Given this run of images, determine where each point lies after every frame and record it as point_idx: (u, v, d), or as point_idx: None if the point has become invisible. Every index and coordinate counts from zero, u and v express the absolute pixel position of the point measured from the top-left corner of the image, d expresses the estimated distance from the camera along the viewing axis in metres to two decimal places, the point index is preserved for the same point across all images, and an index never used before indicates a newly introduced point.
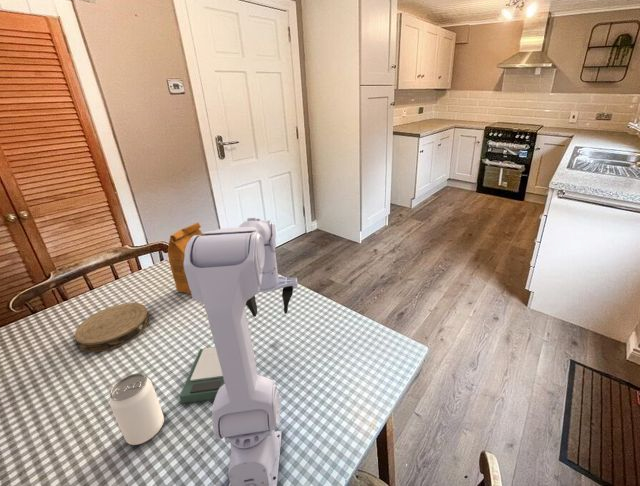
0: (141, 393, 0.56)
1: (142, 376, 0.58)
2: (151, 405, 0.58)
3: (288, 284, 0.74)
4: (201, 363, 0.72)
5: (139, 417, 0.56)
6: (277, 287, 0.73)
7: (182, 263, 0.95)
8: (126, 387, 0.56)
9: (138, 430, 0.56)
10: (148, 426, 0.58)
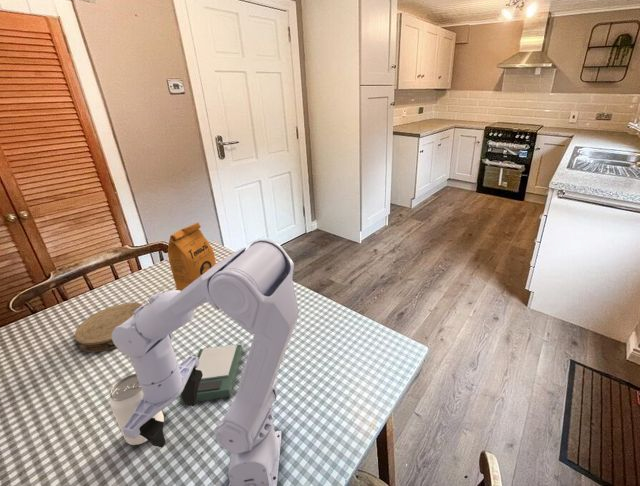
0: (141, 393, 0.56)
1: None
2: None
3: (192, 366, 0.59)
4: (201, 363, 0.72)
5: None
6: (186, 378, 0.56)
7: (182, 263, 0.95)
8: (126, 387, 0.56)
9: None
10: None
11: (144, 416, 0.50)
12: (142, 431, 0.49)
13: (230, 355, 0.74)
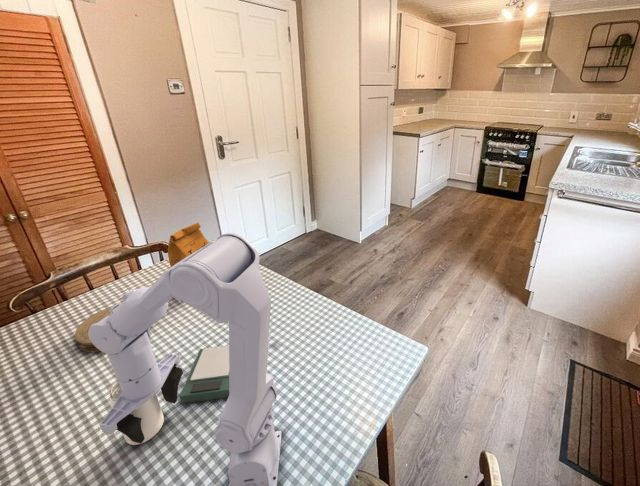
0: None
1: None
2: (151, 405, 0.58)
3: (172, 364, 0.60)
4: (201, 363, 0.72)
5: (139, 417, 0.56)
6: (166, 375, 0.57)
7: None
8: None
9: None
10: (148, 426, 0.58)
11: (122, 412, 0.51)
12: (119, 427, 0.50)
13: None
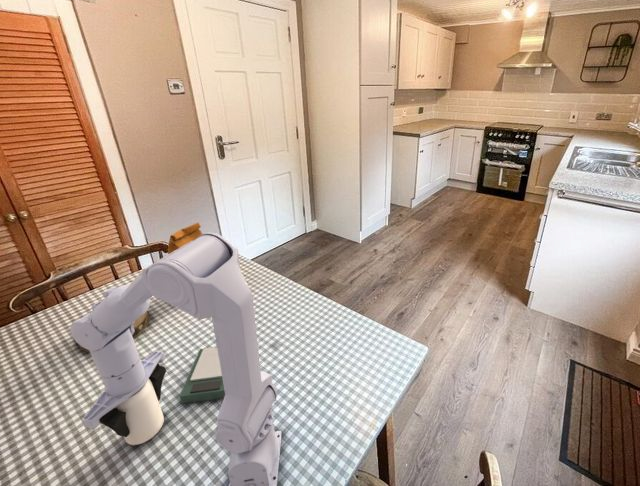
0: (141, 393, 0.56)
1: None
2: (151, 405, 0.58)
3: (157, 360, 0.60)
4: (201, 363, 0.72)
5: (139, 417, 0.56)
6: (150, 372, 0.58)
7: None
8: None
9: (138, 430, 0.56)
10: (148, 426, 0.58)
11: (104, 407, 0.51)
12: (104, 420, 0.51)
13: None
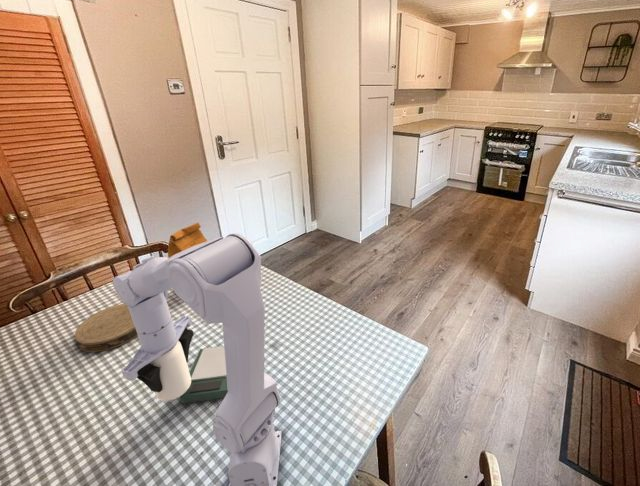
0: (172, 352, 0.60)
1: None
2: (181, 364, 0.62)
3: (185, 324, 0.64)
4: (201, 363, 0.72)
5: (171, 374, 0.60)
6: (180, 333, 0.62)
7: None
8: None
9: (169, 386, 0.60)
10: (179, 384, 0.62)
11: (141, 361, 0.55)
12: (141, 373, 0.55)
13: None
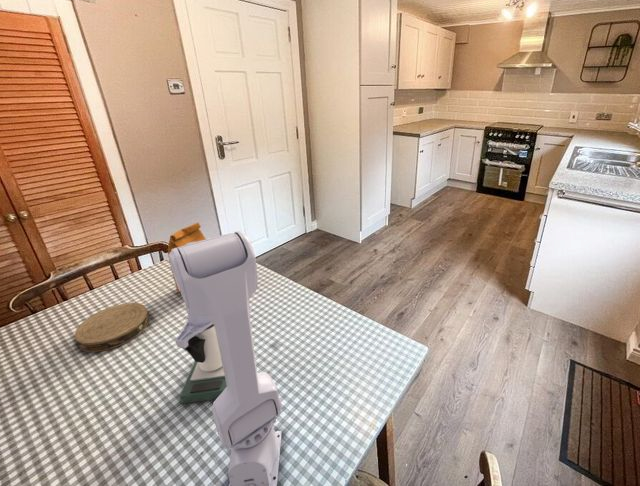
0: None
1: None
2: None
3: None
4: None
5: (214, 347, 0.68)
6: None
7: None
8: None
9: (212, 358, 0.68)
10: (220, 356, 0.70)
11: (191, 333, 0.63)
12: (190, 344, 0.63)
13: None
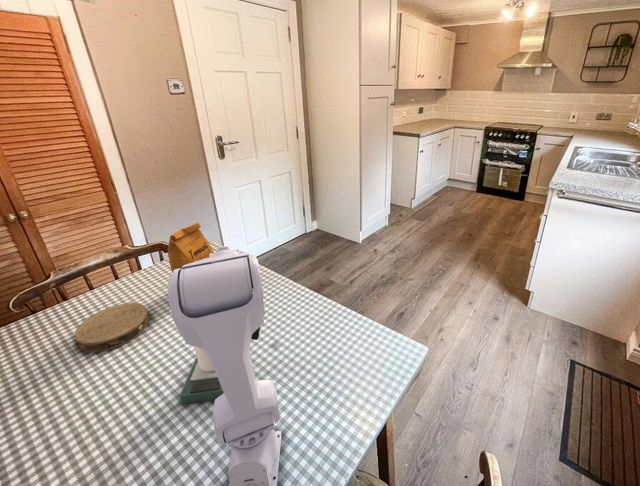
0: None
1: None
2: None
3: None
4: None
5: None
6: None
7: (182, 263, 0.95)
8: None
9: None
10: None
11: None
12: None
13: None
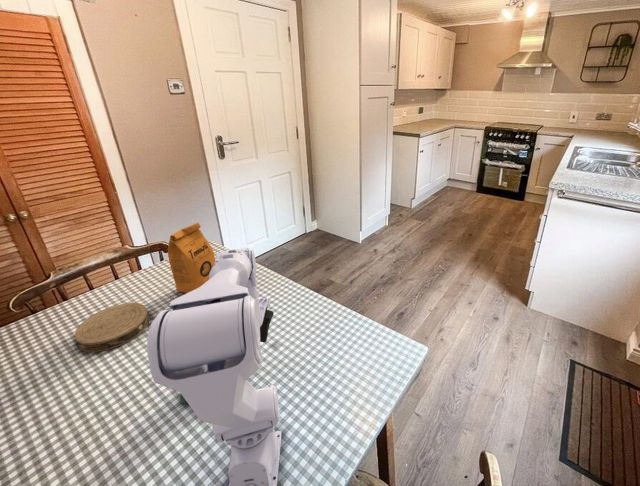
0: None
1: None
2: None
3: (265, 306, 0.66)
4: None
5: None
6: (263, 314, 0.64)
7: (182, 263, 0.95)
8: None
9: None
10: None
11: None
12: None
13: None
